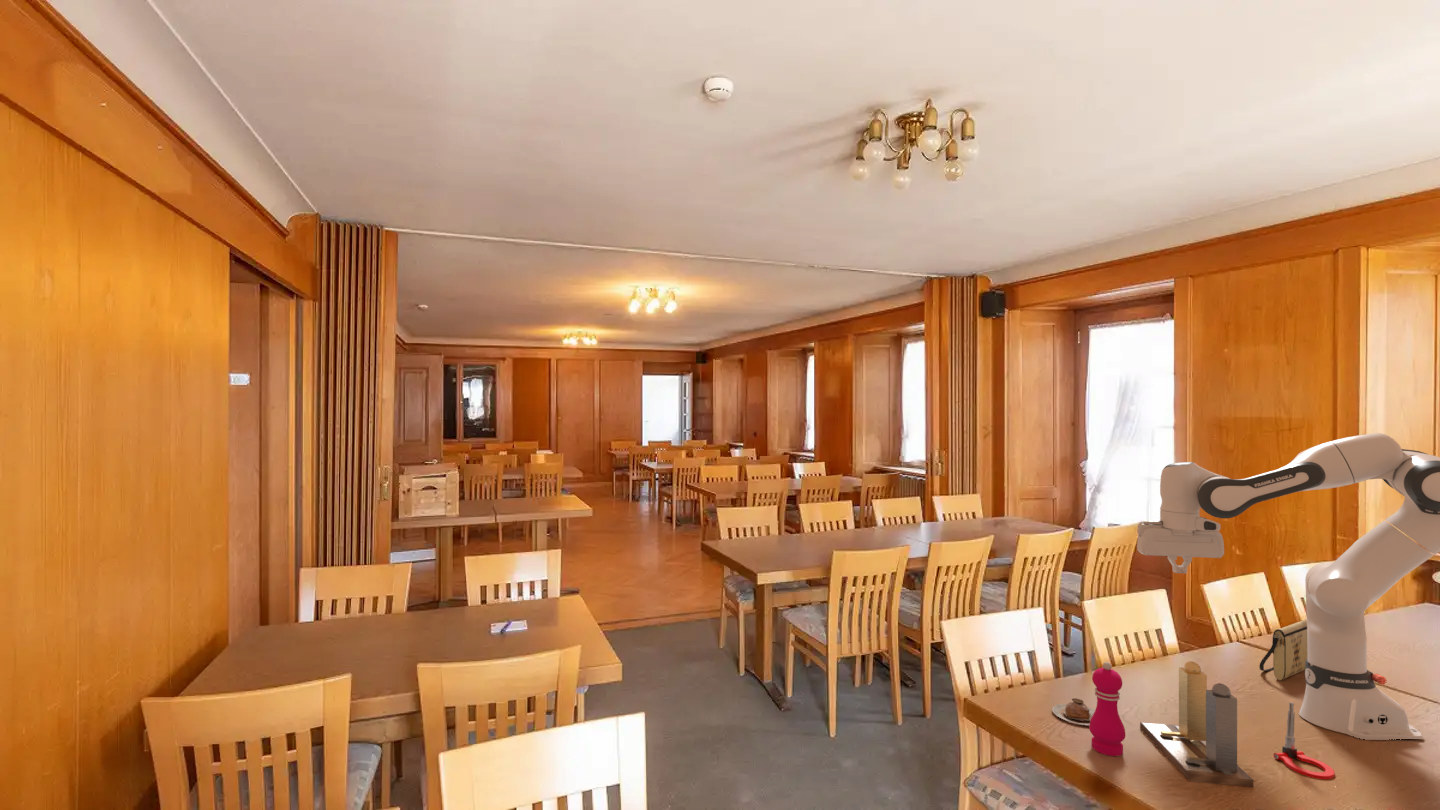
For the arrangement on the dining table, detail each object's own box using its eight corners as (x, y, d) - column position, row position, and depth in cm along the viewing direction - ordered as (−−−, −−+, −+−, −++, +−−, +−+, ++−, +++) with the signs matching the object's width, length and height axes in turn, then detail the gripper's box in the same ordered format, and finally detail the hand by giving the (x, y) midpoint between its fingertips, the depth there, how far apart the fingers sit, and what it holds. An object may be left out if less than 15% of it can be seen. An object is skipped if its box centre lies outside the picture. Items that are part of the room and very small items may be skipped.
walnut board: (1194, 732, 163) (1194, 726, 163) (1253, 787, 139) (1253, 779, 139) (1140, 728, 165) (1140, 722, 165) (1189, 780, 142) (1189, 773, 142)
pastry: (1051, 704, 179) (1051, 687, 179) (1103, 713, 174) (1103, 695, 174) (1052, 723, 168) (1052, 705, 168) (1107, 733, 163) (1107, 714, 163)
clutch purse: (1296, 657, 214) (1296, 610, 214) (1324, 665, 208) (1324, 616, 208) (1252, 675, 199) (1252, 625, 199) (1281, 684, 193) (1281, 631, 193)
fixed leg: (1226, 762, 146) (1226, 680, 146) (1237, 772, 142) (1237, 688, 142) (1183, 758, 147) (1182, 677, 147) (1192, 768, 143) (1192, 685, 143)
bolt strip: (1181, 727, 163) (1181, 725, 163) (1233, 775, 141) (1233, 773, 141) (1141, 723, 164) (1141, 722, 164) (1186, 771, 143) (1186, 769, 143)
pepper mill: (1130, 759, 150) (1130, 669, 151) (1095, 755, 152) (1095, 666, 152) (1118, 743, 157) (1118, 657, 158) (1084, 740, 159) (1084, 655, 159)
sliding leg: (1197, 733, 158) (1197, 659, 158) (1206, 742, 154) (1206, 665, 154) (1157, 730, 159) (1157, 656, 159) (1165, 738, 155) (1165, 662, 155)
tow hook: (1345, 780, 143) (1302, 755, 152) (1347, 720, 143) (1304, 699, 152) (1310, 783, 142) (1269, 758, 151) (1313, 723, 142) (1271, 702, 151)
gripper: (1142, 522, 182) (1142, 573, 182) (1227, 524, 178) (1227, 577, 178) (1132, 518, 188) (1132, 568, 188) (1214, 521, 184) (1214, 571, 184)
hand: (1179, 572), depth 183 cm, fingers closed
